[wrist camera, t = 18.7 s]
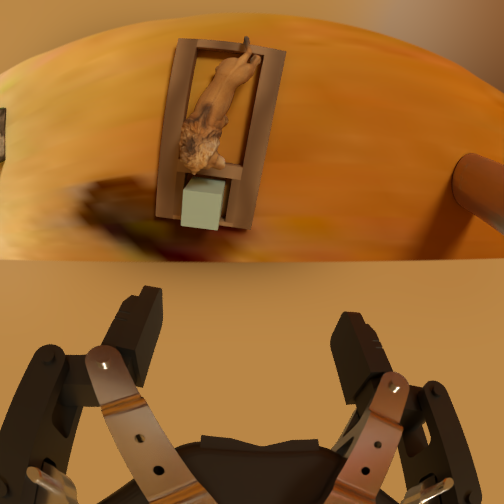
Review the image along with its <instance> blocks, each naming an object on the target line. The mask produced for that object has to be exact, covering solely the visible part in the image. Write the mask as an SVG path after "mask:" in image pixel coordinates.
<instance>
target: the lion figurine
mask: <svg viewBox="0 0 504 504" xmlns="http://www.w3.org/2000/svg"><path fill="white" fill-rule="evenodd" d="M243 44H244V46H245V49H246V52H245V53H244V54H243V55H242V56H241V57H239V58H235V57H233V58H227V59H224V60H223V61H222V62H221V63H220V65H219V66H217V67H216V69H215V70H216V74H215V77H214V79H213V80H212V82H211V83H210V84H209V86H208V87H207V88H206V90H205V91H204V93H203V94H202V95H201V97H200V98H199V100H198V102H197V104H196V107H195V110H194V112H193V113H192V114H191V115H190V117H189V118H188V119H186V120H185V121H184V122H183V125H182V127H181V130H182V132H181V136H180V138H181V140H180V142H179V145H180V151H181V152H180V157H181V158H180V161H181V162H183V163H184V166H185V167H187V168H188V169H190V170H191V171H192V174H193V175H195V174H196V173H197V172H198V171H200V169H210V168H214V169H216V170H222V169H224V168H225V159H224V158H223V157H222V156H220V155H219V154H218V152H217V148H218V146H219V144H220V141H219V139H220V137H221V134H222V131H221V130H222V128H223V126H224V125H226V124H227V123H228V118H227V116H226V115H225V114H226V112H227V111H228V109H229V107H230V104H231V101H232V99H233V96H234V92H235V89H236V88H237V87H238V86H239V85H241V84H243V83H245V82H247V81H248V80H249V78H251V77H252V76H253V73H254V71H255V69H256V66H257V65H259V64H260V62H261V57H260V56H259V55H257V54H255V55H254V56H253V57H252V58H251V59H250V64H249V63H247V61H248V59H249V57H250V56H251V54H252V50H251V48H250V46H249V44H250V41H249V38H248V37H247V36H245V37H244V42H243Z"/></svg>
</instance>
